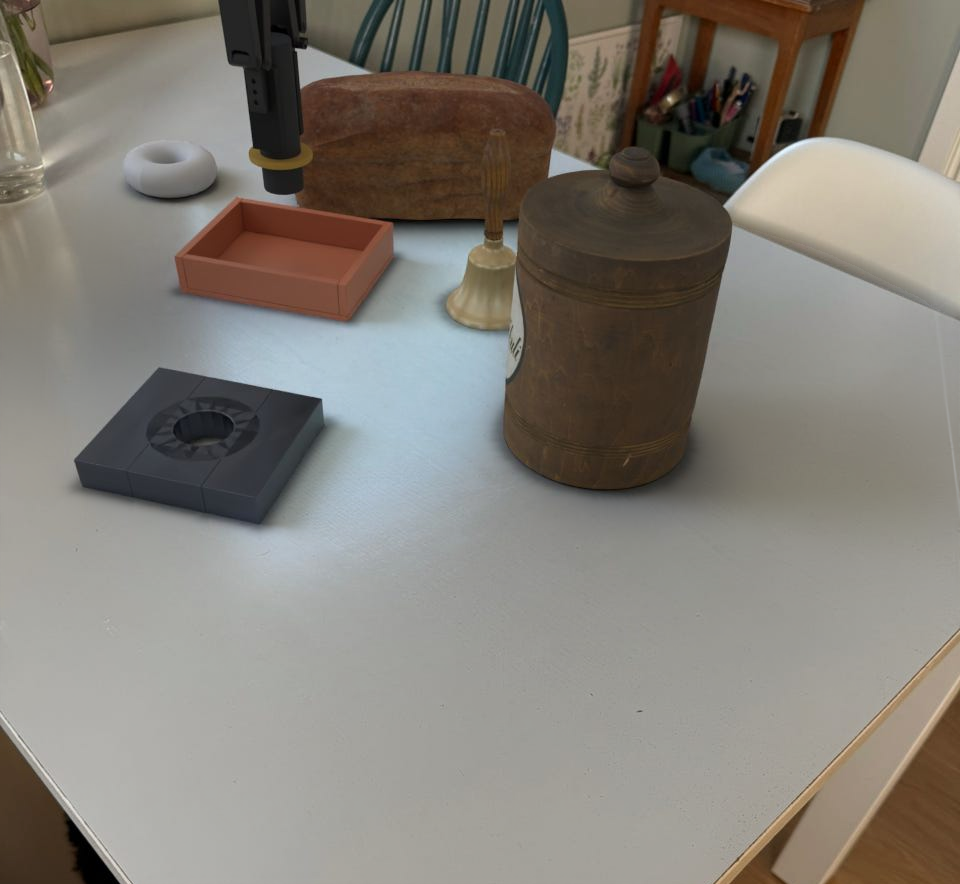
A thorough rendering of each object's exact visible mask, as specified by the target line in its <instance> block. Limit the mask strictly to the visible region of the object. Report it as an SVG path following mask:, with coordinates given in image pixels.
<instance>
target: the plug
mask: <svg viewBox="0 0 960 884" xmlns="http://www.w3.org/2000/svg"><path fill="white" fill-rule="evenodd" d="M271 59H272V65H271V66H274V67H278V77H279V87H280V98H281V108H282V118H283V128H284V138H285V149H286V150H285V151H284V152H283V153H279V152H272V151H265V150H259V149H253V146H251V147H250V148H249V150H248V159H249V161H250V162H251V163H252V164H253V165H255V166H256V167H259V168H261V172H262V173H261V174H262V181H263V182H262V183H263V188H264V190H265V192H268V194H272V195H276V196H291V195H295V193H298V192H300V191H301V190H303V188H304V180H303V169H302V166H304V165H307V164H308V163H309V162H311V160H312V158H313V154H312V150H311V148H310V147H309V146H308V145H306V144H303V143H301V142H300V135H299V123H298V112H297V100H296V89H295V77H294V66H293V54H292V43H291V38H290V37H289V36H288V35H285V34H282V33H276V32H271Z"/></svg>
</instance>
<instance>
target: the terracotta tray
mask: <svg viewBox="0 0 960 884" xmlns="http://www.w3.org/2000/svg"><path fill="white" fill-rule="evenodd" d="M394 242H395V241H394V222H391V221H385V220H379V219H374V218H361V217H355V216H349V215H343V214H337V213H330V212H324V211H318V210H312V209H306V208H300V207H299V206H295V205H293V206H292V205H287V204H280V203H275V202H268V201H263V200H257V199H251V198H244V197H238V196H236V197H235V198H234V199H232V200H231V202H230V203H228V204H227V205H226V206H225V207H224V208H223V209H222V210H221V211H220V212H219V213H218V214H217V215H216V216H214V218H213V219H212V220H210V221H209V222H208V223H207V224H206V225H205V226H204V227H203V228H202V229H201V230H200V231H199V232H198V233H197V234H196V235H195V236H194V237H193V238H192V239H190V241H188V242H187V243H186V244H185V245H184V246H183V247H182V248H181V249H180V250H179V251H178V252H177V253H176V254H175V255H173V256H174V263H175V267H176V273H177V278H178V283H179V287H180V288H179V289H180V292H181V293H183V294H188V295H189V294H190V295H194V296H199V297H205V298H206V297H207V298H212V299H216V300H217V299H218V300H221V301H228V302H234V303H239V304H245V305H249V306H256V307H261V308H266V309H273V310H278V311H282V312H283V311H284V312H289V313H294V314H299V315H305V316H306V315H307V316H310V317H311V316H312V317H317V318H321V319H328V320H334V321H340V322H344V323H349V321H350V320H352V319H351V318H352V317H353V316H354V315H355V313H356V311H357V310H358V309H359V307H360V306H361V305H362V303H363V302H364V300H365V299H366V298H367V296H369V295H368V294H369V293H370V292H371V290H372V289H373V287H374V286H375V285H376V283H377V282H378V280H379V279H380V278H381V276H382V275H383V274H384V272H385V271H386V269H387V268H388V266H389V265H390V264H391V262H392V261H393V260H394V258H395V251H394V250H395V247H394Z"/></svg>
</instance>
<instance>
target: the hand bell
mask: <svg viewBox="0 0 960 884" xmlns="http://www.w3.org/2000/svg"><path fill="white" fill-rule="evenodd" d="M510 180H511V157H510V152H509V149H508V145H507V141H506V134H505V131H503V130H502V129H493V130H491V131H490V135H489V139H488V142H487V145H486V148H485V151H484V154H483V158H482V163H481V184H482V191H483V195H484V199H485V204H486V217H485V219H484V230H483V236H484V239H483V243H482V244H479V245H476V246H475V247H473V248H471V250H470V251H469V253H468V255H467V263H466V268H465V271H464V275H463V278H462V281H461V282H460V284H459V286H458V287H457V288H455V289H454V290H453V291H452V292H451V293H450V295H449V296H448V298H447V299H446V301H445V310H446V312H447V314H448V316H450V318H451V319H452V320H454V322H457V323H458V324H459V325H461V326H464V327H467V328H469V329H473V330H478V331H484V332H500V331H502V332H503V331H509V329H510V319H511V310H512V299H513V288H514V277H515V267H516V257H517V253H516V252H515V251H514V250H513V249H511V248H510V247H509V246H506V245H504V230H503V229H504V220H503V208H504V203H505V199H506V197H507V194H508V190H509V186H510Z"/></svg>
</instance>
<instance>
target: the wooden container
mask: <svg viewBox="0 0 960 884" xmlns="http://www.w3.org/2000/svg"><path fill="white" fill-rule="evenodd" d="M732 233H733V220H732V218H731V215H730V213H729V212H728V210H727V208H725V207H724V206H723V204H722V203H720V202H719V201H718V200H717V199H716V198H715V197H713V196H711V195H709V194H708V193H706V192H704V191H703V190H700V189H698V188H696V187H694V186H692V185H689V184H687V183H685V182H682V181H679V180H675V179H672V178H669V177H665V176H662V175H661V167H660V163H659V161H658V160H657V158H656V157H655V156H654V155H653V154H651V152H650V151H649V150H648V149H645V148H644V147H641V146H627V147H625V148H623V150H621V151H619V152H616V153H615V154H613V156H612V157H611V158H610V160H609V164H608V168H607V169H606V168H605V169H582V170H574V171H569V172H565V173H564V172H563V173H559V174H556V175H553V176H550V177H548V178H547V179H545V180H542V181H541V182H539V183H537V184H536V185H534V186H533V187H531V188H530V189H529V190H528V191H527V192H526V194H525V195H524V197H523V199H522V201H521V206H520V214H519V219H518V224H517V242H516V244H517V245H516V250H517V252H516V267H515V277H514V288H513V299H512V310H511V319H510V329H509V330H508V341H507V353H506V365H505V366H506V367H505V381H504V383H505V385H504V389H505V390H504V401H503V403H504V405H503V419H502V420H503V421H502V430H503V437H504V441H505V442H506V445H507V446H508V448H509V450H510V452H511V453H512V454H513V455H514V456H515V457H516V458H517V460H519V461H520V462H521V463H523V465H525V466H526V467H528V468H529V469H531V470H532V471H534V472H536V473H538V474H539V475H541V476H544V477H546V478H548V479H550V480H552V481H554V482H555V481H556V482H558V483H561V484H565V485H570V486H572V487H573V486H574V487H576V488H584V489H593V490H620V489H629V488H635V487H638V486H641V485H644V484H648V483H651V482H654V481H656V480H658V479H660V478H661V477H663V476H665V475H666V474H667V473H669V472H671V471H672V470H673V469H674V468H675V467H676V466H677V465H678V463H679V462H680V461H681V459H682V457H683V454H684V452H685V448H686V444H687V440H688V437H689V432H690V428H691V423H692V418H693V414H694V410H695V406H696V404H697V403H696V402H697V398H698V394H699V390H700V385H701V382H702V377H703V372H704V367H705V362H706V357H707V351H708V346H709V342H710V338H711V337H710V336H711V332H712V327H713V322H714V318H715V314H716V313H715V312H716V308H717V303H718V297H719V294H720V289H721V284H722V279H723V274H724V272H725V267H726V264H727V260H728V257H729V253H730V247H731V241H732Z"/></svg>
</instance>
